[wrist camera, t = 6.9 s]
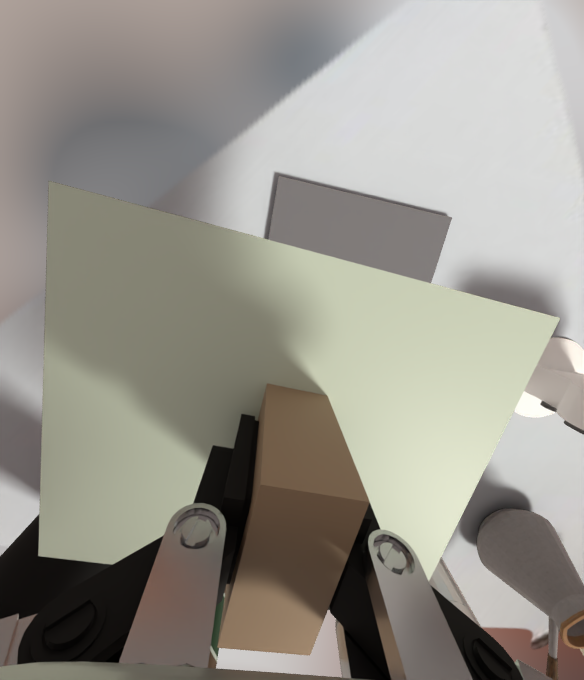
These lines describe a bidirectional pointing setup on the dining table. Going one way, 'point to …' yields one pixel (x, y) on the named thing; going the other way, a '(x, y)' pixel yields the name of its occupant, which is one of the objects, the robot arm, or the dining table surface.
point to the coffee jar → (36, 575)
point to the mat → (358, 228)
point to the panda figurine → (557, 384)
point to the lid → (261, 400)
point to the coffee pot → (536, 572)
